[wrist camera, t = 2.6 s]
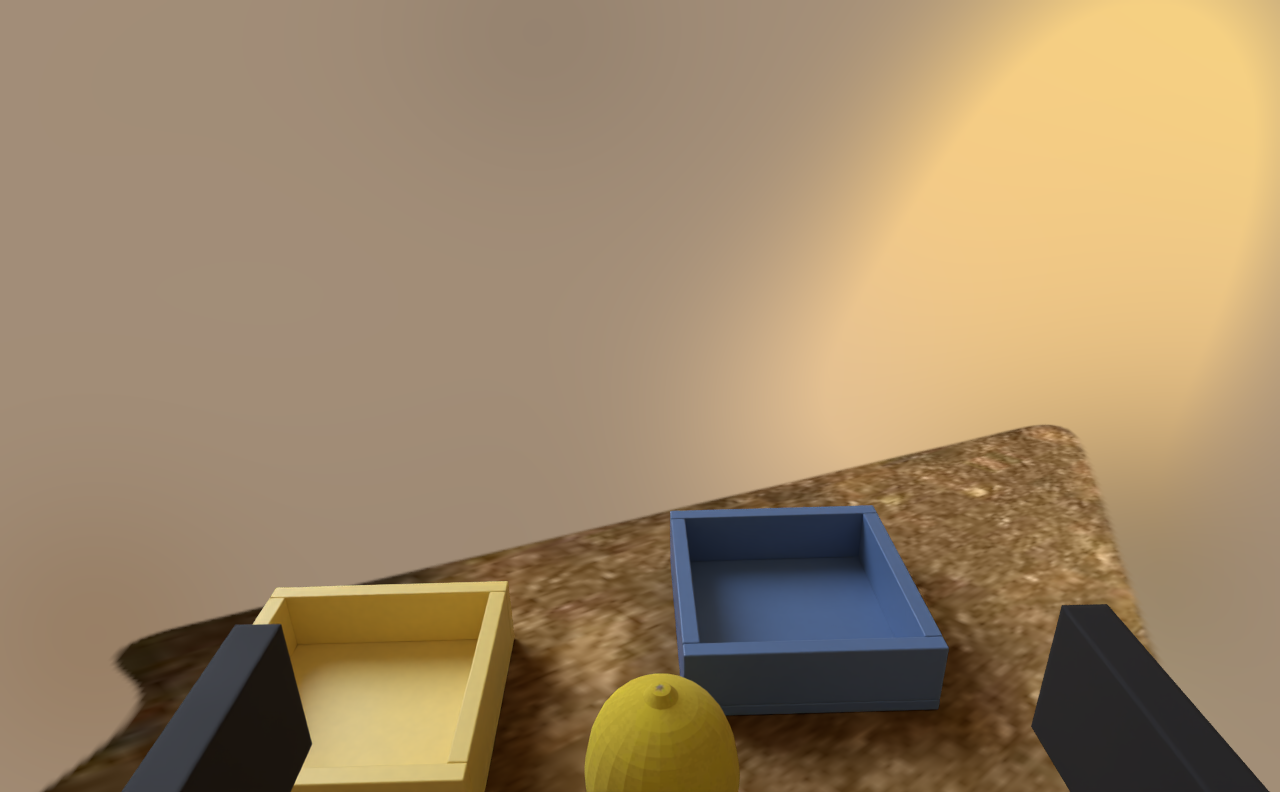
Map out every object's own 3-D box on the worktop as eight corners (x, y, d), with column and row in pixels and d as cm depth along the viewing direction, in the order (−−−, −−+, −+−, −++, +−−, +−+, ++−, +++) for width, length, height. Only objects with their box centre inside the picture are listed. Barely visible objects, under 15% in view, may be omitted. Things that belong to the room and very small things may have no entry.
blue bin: (938, 709, 35) (949, 648, 34) (683, 717, 35) (683, 655, 34) (866, 557, 46) (873, 505, 44) (670, 562, 46) (670, 510, 44)
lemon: (661, 760, 33) (659, 610, 30) (765, 846, 29) (776, 686, 26) (560, 846, 30) (545, 687, 26) (664, 956, 26) (661, 788, 23)
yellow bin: (474, 847, 30) (463, 780, 28) (170, 856, 30) (144, 789, 28) (514, 637, 40) (508, 580, 39) (290, 643, 40) (276, 587, 39)
